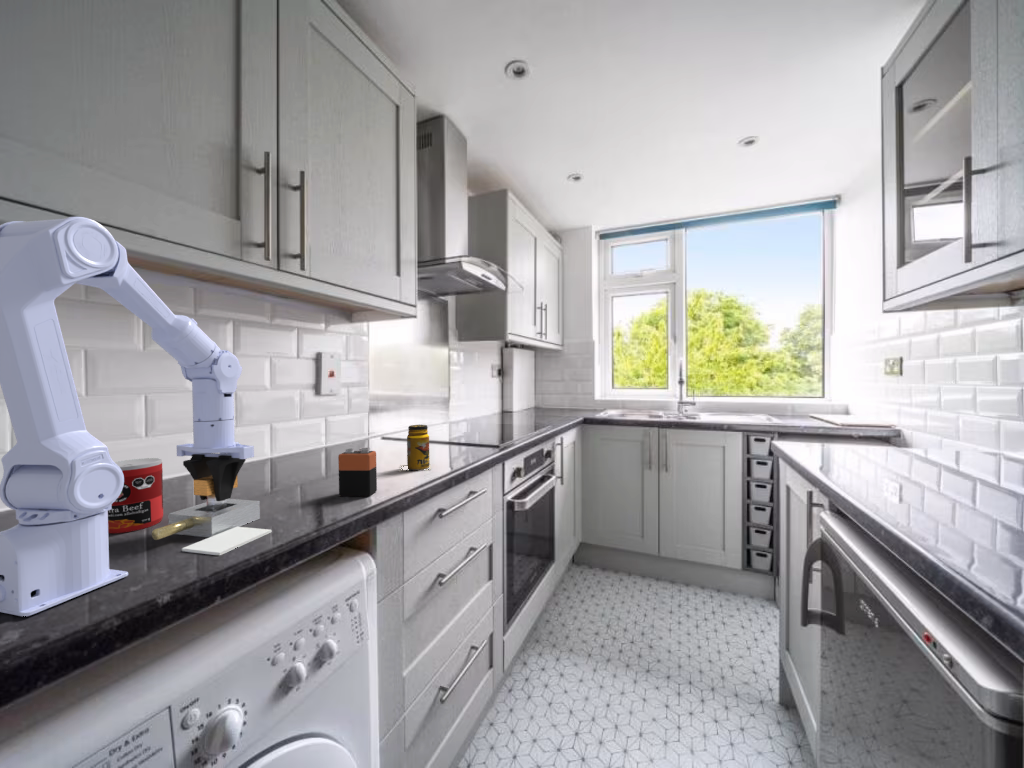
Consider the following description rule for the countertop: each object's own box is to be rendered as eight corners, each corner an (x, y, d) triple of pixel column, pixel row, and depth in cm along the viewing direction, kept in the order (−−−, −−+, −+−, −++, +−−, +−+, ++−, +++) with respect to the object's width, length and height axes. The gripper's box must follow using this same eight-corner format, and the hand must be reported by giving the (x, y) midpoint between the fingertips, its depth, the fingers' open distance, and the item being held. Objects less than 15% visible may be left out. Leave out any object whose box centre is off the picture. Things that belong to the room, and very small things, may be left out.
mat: (219, 555, 58) (219, 552, 58) (181, 551, 60) (181, 548, 60) (271, 532, 67) (271, 529, 67) (237, 528, 68) (237, 526, 68)
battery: (369, 497, 86) (368, 450, 86) (338, 497, 86) (337, 450, 86) (377, 491, 90) (376, 446, 90) (347, 491, 91) (346, 446, 91)
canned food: (89, 536, 66) (88, 468, 66) (122, 520, 74) (120, 459, 73) (146, 531, 68) (145, 465, 68) (172, 515, 76) (171, 456, 75)
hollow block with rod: (179, 550, 60) (178, 529, 60) (133, 545, 62) (133, 524, 62) (259, 518, 73) (259, 500, 73) (220, 515, 76) (220, 498, 75)
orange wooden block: (207, 517, 67) (206, 480, 67) (194, 515, 68) (193, 479, 68) (238, 506, 73) (237, 473, 72) (225, 505, 73) (224, 472, 73)
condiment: (431, 470, 111) (430, 426, 111) (398, 472, 109) (398, 427, 109) (430, 464, 118) (430, 423, 118) (400, 466, 116) (399, 424, 116)
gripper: (268, 418, 72) (269, 494, 72) (203, 417, 75) (205, 490, 76) (231, 422, 65) (233, 507, 65) (162, 421, 69) (164, 501, 69)
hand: (216, 498), depth 70 cm, fingers closed on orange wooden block, 3 cm apart
